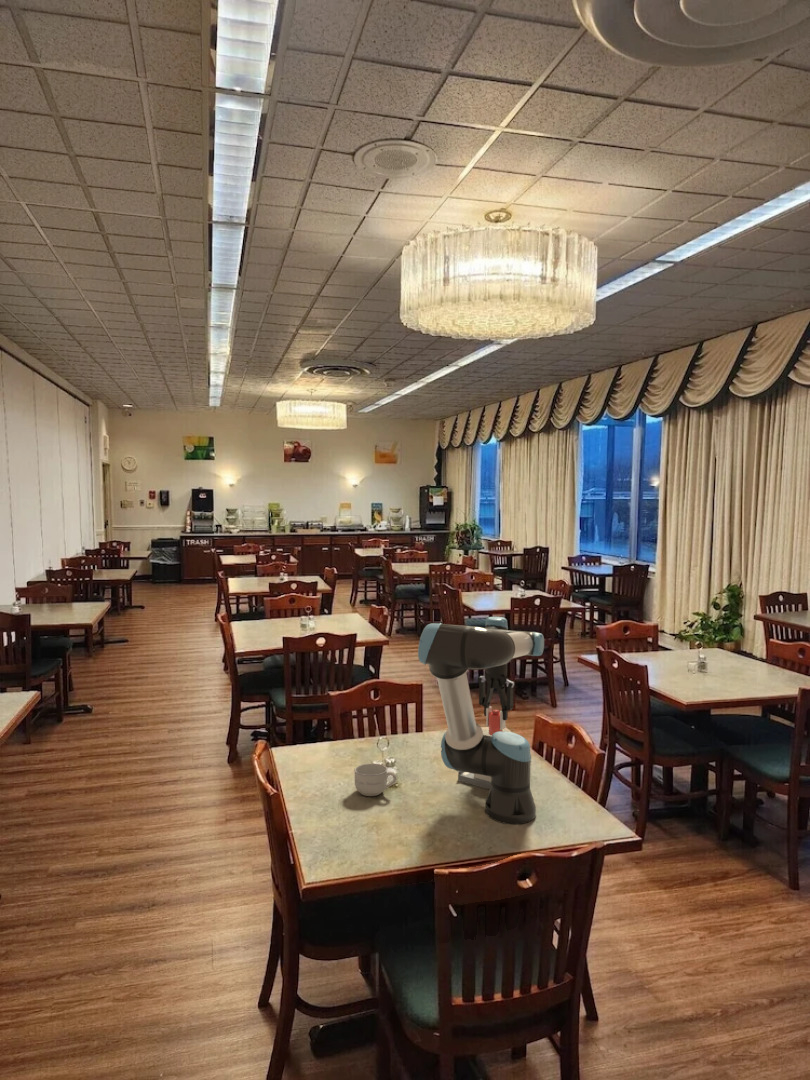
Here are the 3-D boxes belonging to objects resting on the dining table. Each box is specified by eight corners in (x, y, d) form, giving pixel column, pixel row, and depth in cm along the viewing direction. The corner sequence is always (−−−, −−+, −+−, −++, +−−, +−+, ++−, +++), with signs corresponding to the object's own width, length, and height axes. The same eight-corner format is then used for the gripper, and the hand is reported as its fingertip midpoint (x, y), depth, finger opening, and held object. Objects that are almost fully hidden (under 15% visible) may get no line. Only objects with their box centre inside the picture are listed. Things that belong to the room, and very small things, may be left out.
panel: (531, 765, 233) (531, 757, 233) (498, 791, 212) (498, 782, 212) (493, 755, 242) (493, 748, 242) (458, 780, 221) (458, 771, 220)
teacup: (347, 795, 209) (347, 771, 209) (365, 782, 219) (365, 759, 218) (385, 804, 203) (385, 779, 202) (402, 791, 212) (402, 767, 212)
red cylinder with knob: (499, 737, 226) (499, 713, 225) (486, 734, 228) (486, 711, 228) (504, 732, 230) (504, 709, 229) (491, 730, 232) (492, 707, 232)
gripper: (524, 663, 225) (523, 729, 227) (478, 655, 236) (478, 719, 237) (514, 667, 219) (514, 735, 221) (468, 660, 230) (468, 725, 231)
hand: (495, 727), depth 229 cm, fingers closed on red cylinder with knob, 5 cm apart
